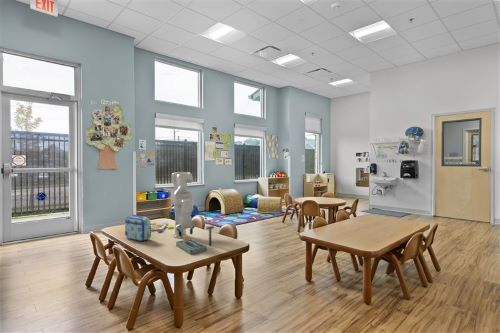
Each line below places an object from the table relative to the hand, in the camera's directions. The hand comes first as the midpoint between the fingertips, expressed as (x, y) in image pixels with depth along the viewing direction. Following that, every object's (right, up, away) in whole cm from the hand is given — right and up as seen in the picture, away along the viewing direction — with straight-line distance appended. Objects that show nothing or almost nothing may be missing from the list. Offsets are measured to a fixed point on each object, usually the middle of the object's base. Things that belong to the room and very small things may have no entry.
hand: (185, 235), depth 226 cm
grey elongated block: (+6, -8, -7) cm, 12 cm away
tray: (+6, -9, -8) cm, 13 cm away
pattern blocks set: (-43, -8, +55) cm, 71 cm away
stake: (+20, -9, 0) cm, 22 cm away
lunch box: (-47, -8, +18) cm, 51 cm away
